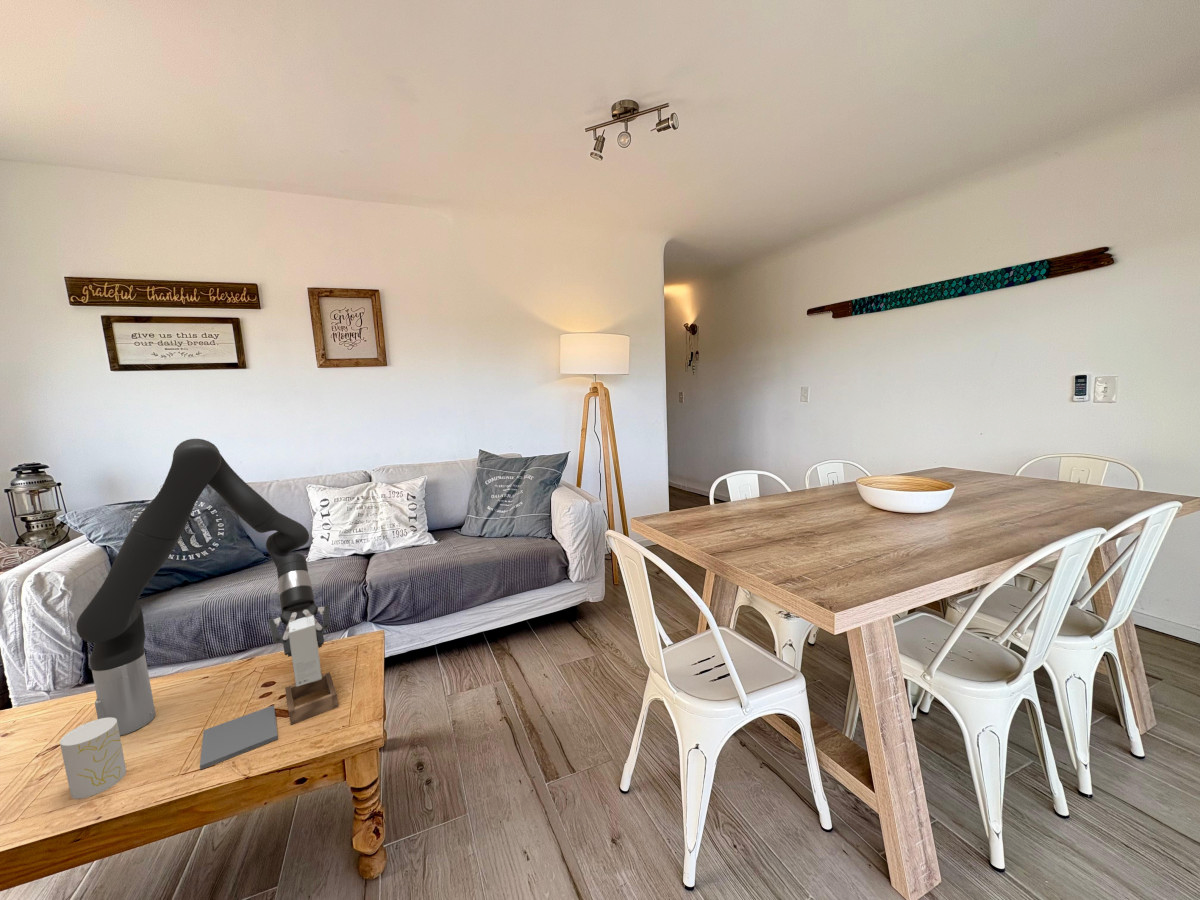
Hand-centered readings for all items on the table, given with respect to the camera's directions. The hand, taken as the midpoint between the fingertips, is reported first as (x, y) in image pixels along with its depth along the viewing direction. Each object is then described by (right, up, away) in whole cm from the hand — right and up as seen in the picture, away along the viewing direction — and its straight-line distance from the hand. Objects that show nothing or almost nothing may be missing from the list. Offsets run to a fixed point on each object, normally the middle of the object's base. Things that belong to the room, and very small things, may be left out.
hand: (305, 650), depth 120 cm
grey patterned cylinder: (-31, -20, -20) cm, 42 cm away
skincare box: (-1, -8, +2) cm, 8 cm away
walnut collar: (0, -15, +3) cm, 15 cm away
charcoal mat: (-10, -17, -8) cm, 22 cm away
